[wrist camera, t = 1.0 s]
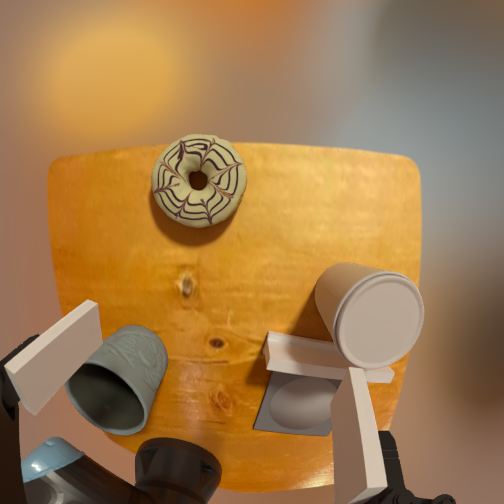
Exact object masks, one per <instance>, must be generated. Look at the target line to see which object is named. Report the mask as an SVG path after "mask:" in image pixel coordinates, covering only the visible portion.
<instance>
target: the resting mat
mask: <svg viewBox="0 0 504 504" xmlns="http://www.w3.org/2000/svg"><path fill="white" fill-rule="evenodd" d="M341 382H342V380H338V379H329V378H320V377H312V376H305V375H298V374H291V373H285V372H279V371H272V374H271V377H270V380H269V383H268V386H267V389H266V392H265V395H264V398H263V401H262V404H261V407H260V410H259V413H258V415H257V418H256V421H255V424H254V429H257V430H264V431H272V432H281V433H290V434H302V435H318V436H328V435H329V434H330V432H331V430H332V422H331V409H330V403H331V401H332V399H333V397H334V396H335V394H336V392H337V390H338V388H339V386H340V384H341Z"/></svg>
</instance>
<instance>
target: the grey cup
mask: <svg viewBox="0 0 504 504" xmlns="http://www.w3.org/2000/svg"><path fill="white" fill-rule="evenodd" d="M167 366H168V355H167V351H166V348H165V346H164V344H163V342H162V341H161V339H160V338H159V337H158V336H157V335H156V334H155V333H153V332H152V331H151V330H149V329H147V328H145V327H142V326H138V325H128V326H124V327H122V328H120V329H119V330H117V331H116V332H115V333H114V334H112V335H111V336H109V337H108V338H106V339H105V340H103V344H102V345H101V346H100V347H99V348H98V349H97V350H96V351H95V352H94V353H93V354H92V355H91V356H90V357H89V358H88V359H87V360H86V361H85V362H84V363H83V364H82V366H81V367H80V368H79V369H78V370H77V371H76V372H75V373H74V374H73V375H72V376H71V377H70V378H69V379H68V380H67V381H66V382H65V388H66V391H67V394H68V397H69V398H70V400H71V402H72V404H73V405H74V407H75V408H76V409H77V411H78V412H79V413H80V414H81V415H82V416H83V417H84V418H85V419H86V420H88V421H89V422H90V423H92V424H93V425H94V426H96V427H98V428H100V429H102V430H103V431H106V432H109V433H111V434H116V435H132V434H134V433H136V432H139V431H140V430H141V429H142V428H143V427H144V426H145V424H146V422H147V419H148V416H149V413H150V409H151V406H152V403H153V402H154V399H155V393H156V392H157V389H158V387H159V384H160V382H161V380H162V379H163V376H164V374H165V371H166V368H167Z"/></svg>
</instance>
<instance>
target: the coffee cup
mask: <svg viewBox="0 0 504 504" xmlns="http://www.w3.org/2000/svg"><path fill="white" fill-rule="evenodd" d="M314 296H315V303H316V306H317V308H318V311H319V313H320V315H321V317H322V319H323V321H324V323H325V325H326V327H327V329H328V331H329V333H330V335H331V337H332V339H333V342H334V345H335V348H336V350H337V352H338V353H339V355H340V356H341V357H342V358H343V359H344V360H345V361H346V362H347V363H349V364H351V365H353V366H355V367H358V368H363V369H379V368H383V367H386V366H389V365H391V364H393V363H395V362H396V361H398V360H399V359H401V358H402V357H403V356H404V355H405V354H406V353H407V352H408V351H409V350H410V349H411V348H412V346H413V345H414V343H415V342H416V340H417V338H418V336H419V334H420V332H421V329H422V325H423V320H424V305H423V300H422V298H421V295H420V292H419V290H418V288H417V287H416V285H415V284H414V283H413V282H412V281H411V280H410V279H409V278H408V277H406V276H405V275H403V274H401V273H398V272H393V271H385V270H381V269H377V268H373V267H369V266H364V265H360V264H355V263H349V262H344V263H339V264H336V265H333V266H331V267H330V268H328V269H327V270H326V271H325V272H324V273H323V274H322V275H321V276H320V278H319V280H318V282H317V284H316V287H315V295H314Z"/></svg>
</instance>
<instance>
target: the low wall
mask: <svg viewBox="0 0 504 504" xmlns="http://www.w3.org/2000/svg"><path fill="white" fill-rule="evenodd" d="M263 355H265V359H266V368H267V370H273V371H279V372H285V373H291V374H298V375H305V376H312V377H320V378H329V379H338V380H343V378H344V376H345V374H346V372H347V370H348V368H349V367H354V368H358V367H355V366H353V365H351V364H349V363H347V362H346V361H345V360H344V359H343V358H342V357H341V356H340V355H339V353H338V352H337V350H336V348H335V345H334V342H329V341H323V340H317V339H311V338H305V337H299V336H294V335H289V334H283V333H278V332H273V331H268V334H267V338H266V341H265V345H264V348H263ZM362 369H363V368H362ZM363 370H364V374H365V378H366V382H375V383H391V381H392V379H393V376H394V374H395V373H394V371H393V370H392V369H391V368H390V367H389V366H386V367H383V368H379V369H363Z"/></svg>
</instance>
